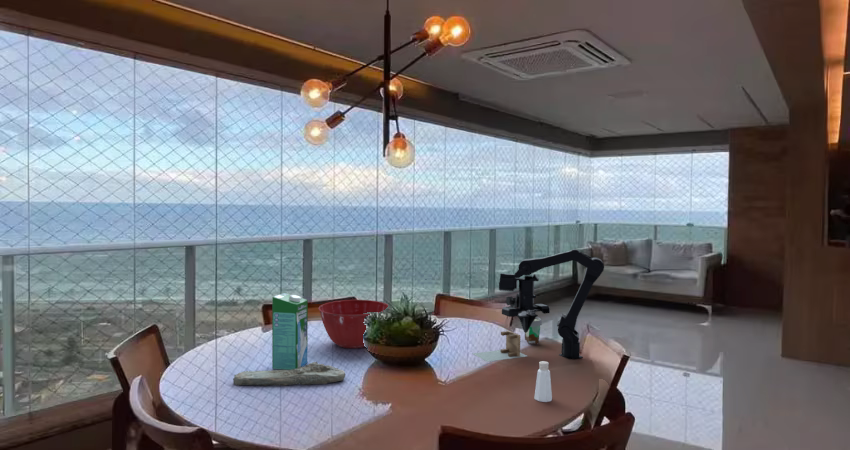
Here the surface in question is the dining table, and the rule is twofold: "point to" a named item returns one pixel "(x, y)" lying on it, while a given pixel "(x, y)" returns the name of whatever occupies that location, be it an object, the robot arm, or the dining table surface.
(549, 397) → the pepper shaker
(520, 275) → the robot arm
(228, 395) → the dining table surface
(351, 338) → the mixing bowl
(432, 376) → the dining table surface
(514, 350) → the stool
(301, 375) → the elongated rock
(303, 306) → the milk carton
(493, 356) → the mat
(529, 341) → the food container
